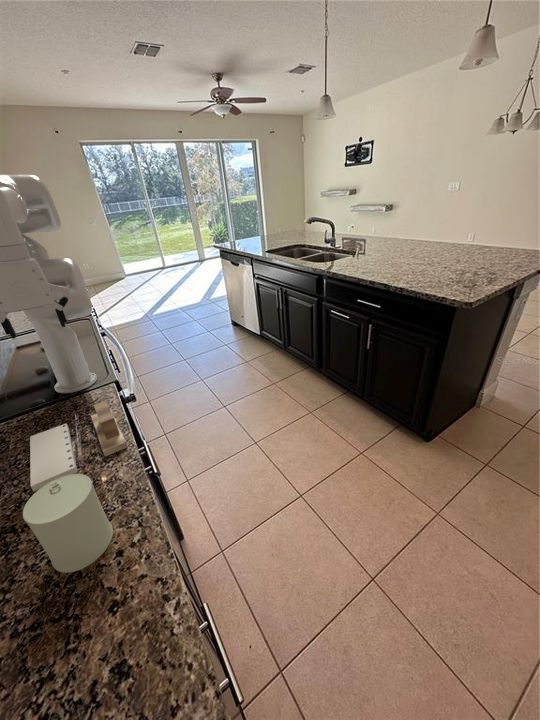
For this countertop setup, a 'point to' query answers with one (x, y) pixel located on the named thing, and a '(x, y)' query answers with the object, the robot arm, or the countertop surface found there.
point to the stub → (107, 429)
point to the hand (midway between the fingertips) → (39, 330)
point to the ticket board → (51, 456)
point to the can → (69, 522)
